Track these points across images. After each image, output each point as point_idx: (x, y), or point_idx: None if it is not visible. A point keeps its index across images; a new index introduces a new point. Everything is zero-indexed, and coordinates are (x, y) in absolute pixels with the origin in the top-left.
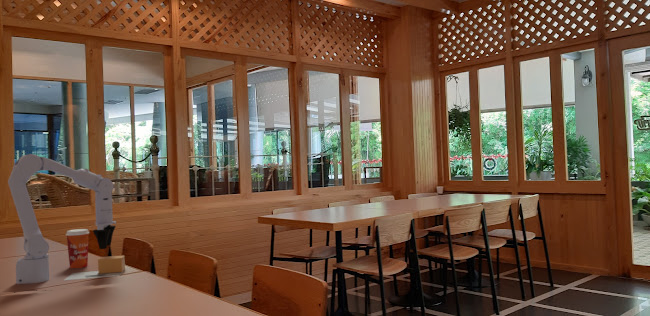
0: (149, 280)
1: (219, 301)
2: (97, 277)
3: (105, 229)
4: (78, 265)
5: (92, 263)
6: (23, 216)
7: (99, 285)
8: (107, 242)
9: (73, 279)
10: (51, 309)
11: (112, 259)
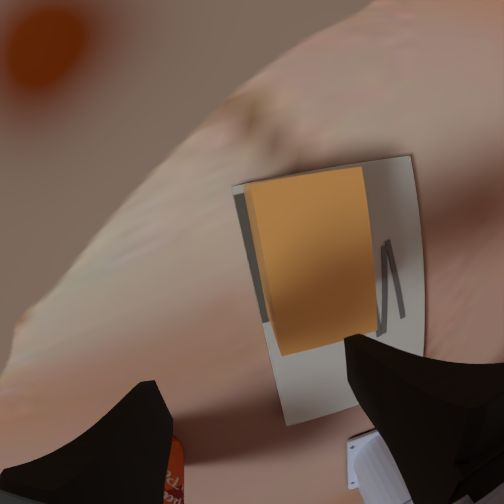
0: (425, 30)
1: None
2: (419, 260)
3: (466, 467)
4: (178, 455)
5: (48, 428)
6: None
7: (480, 207)
8: (158, 417)
9: (423, 348)
10: None
11: (368, 234)
